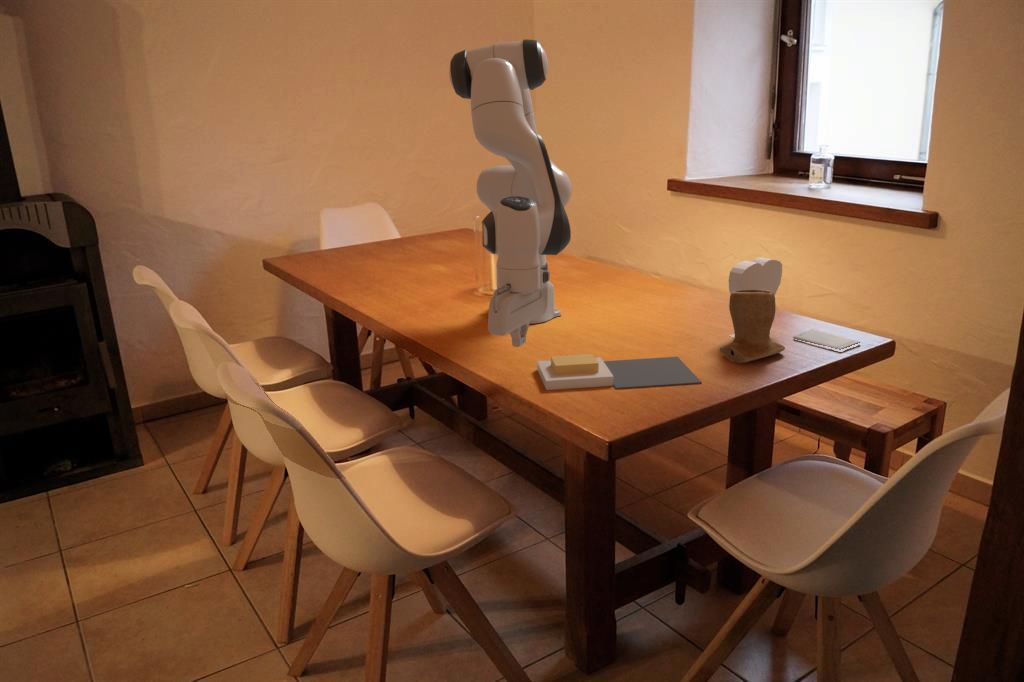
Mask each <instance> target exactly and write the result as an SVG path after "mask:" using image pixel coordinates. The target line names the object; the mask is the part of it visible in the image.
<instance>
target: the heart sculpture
mask: <svg viewBox="0 0 1024 682" xmlns="http://www.w3.org/2000/svg"><path fill="white" fill-rule="evenodd" d="M782 275H783V263H782V262H781V261H780V260H778V259H777V260H776V259H773V258H767V257H761V256H760V257H756V258H754V259H753V260H752V261H751V260H742V261H740V262H738V263H737V264H735V265H733V266H732V268H731V270H730V271H729V275H728V290H729V291H728V292H729V293H730V295H731V293H732V292H733V291H736V290H743V289H761V290H770V291H772V292H773V293H774V295H775V296H776V295H777V292H778V289H779V287H780V285H781V280H782ZM729 336H731V337H735V333H732V334H729ZM729 336H728V337H729ZM731 337H730V338H731Z"/></svg>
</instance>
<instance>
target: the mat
mask: <svg viewBox="0 0 1024 682" xmlns="http://www.w3.org/2000/svg"><path fill="white" fill-rule="evenodd" d="M603 361H604V363H605V364H606V366H607V367H608V369H609V370H610V372H611V373H612V375H613V376H614V386H613V388H614V389H615V390H625V389H626V390H627V389H635V388H636V389H639V388H650V387H651V388H652V387H653V388H654V387H655V388H656V387H668V386H669V387H670V386H681V385H684V386H685V385H697V384H698V385H699V384H702V383H703V382H702V381H701V380H700V379H699V378H698V377H697V375H696V374H695V373H694V372H692V370H691V369H690V368H689V367H688V366H687V365H686V363H684V362H683V361H682V360H681V359H680V357H679V356H667V357H666V356H665V357H664V356H663V357H651V358H648V357H647V358H636V359H635V358H634V359H633V358H632V359H619V360H603Z"/></svg>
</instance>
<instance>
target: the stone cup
mask: <svg viewBox="0 0 1024 682" xmlns="http://www.w3.org/2000/svg"><path fill="white" fill-rule="evenodd" d="M775 296H776V294H775V295H774V293H773V292H772V291H770V290H761V289H743V290H736V291H733V292H732V293H731V294H730V295H729V304H728V307H729V308H728V309H729V313H730V317H731V321H732V325H733V326H732V327H733V332H734V333H733V334H735V337H734V339H733V340H732V341H731V342H730V343H728V344H726V345H723V346H721V347H720V348H719V352H720V353H721V354H722V355H723V356H724V357H725V358H726V359H727V360H729V361H730V362H733V363H736V364H743V363H747V362H753V361H756V360H760V359H763V358H766V357H770V356H773V355H776V354H779V353H781V352H783V351H785V349H786V347H785V346H784V345H782V344H780V343H777V342H776V341H773V340H771V337H770V335H771V332H770V330H771V329H772V325H773V323H774V320H775V315H776V297H775Z"/></svg>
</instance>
